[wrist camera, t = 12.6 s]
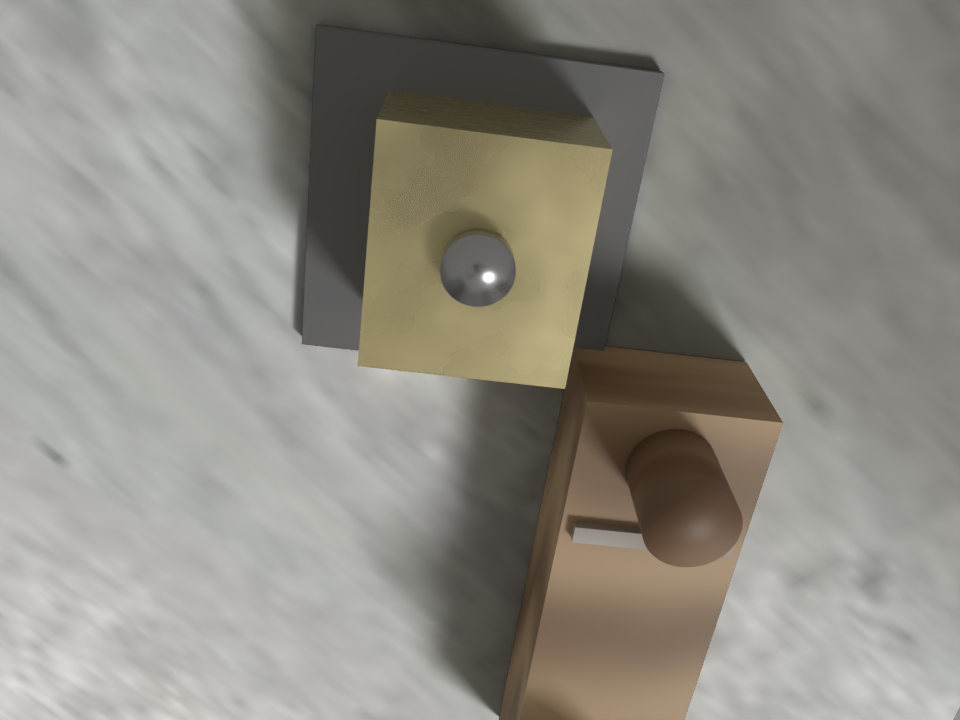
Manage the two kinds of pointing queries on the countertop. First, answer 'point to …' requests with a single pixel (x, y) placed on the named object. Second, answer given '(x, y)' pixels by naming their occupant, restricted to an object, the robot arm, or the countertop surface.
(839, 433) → the countertop surface
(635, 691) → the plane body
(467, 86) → the mat
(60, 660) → the countertop surface
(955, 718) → the robot arm
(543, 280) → the yellow block with knob
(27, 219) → the countertop surface
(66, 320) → the countertop surface
